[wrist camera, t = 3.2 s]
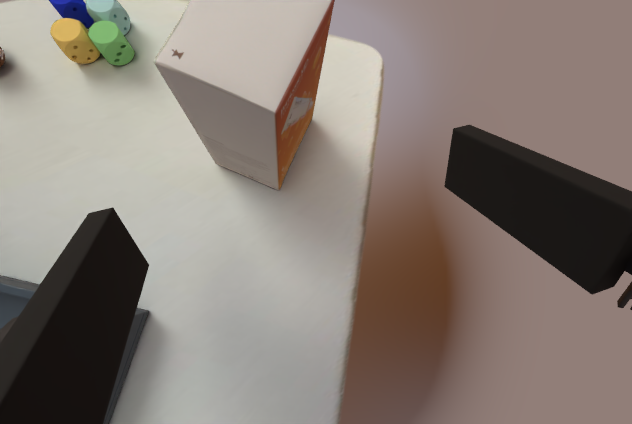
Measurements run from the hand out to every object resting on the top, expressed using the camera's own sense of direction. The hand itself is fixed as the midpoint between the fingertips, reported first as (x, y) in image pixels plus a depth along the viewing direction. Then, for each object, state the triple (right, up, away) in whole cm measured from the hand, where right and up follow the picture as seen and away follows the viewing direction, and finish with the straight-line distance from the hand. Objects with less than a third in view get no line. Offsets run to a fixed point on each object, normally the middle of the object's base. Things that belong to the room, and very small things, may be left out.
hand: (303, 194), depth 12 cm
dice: (-18, +18, +15) cm, 30 cm away
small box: (-4, +6, +16) cm, 17 cm away
